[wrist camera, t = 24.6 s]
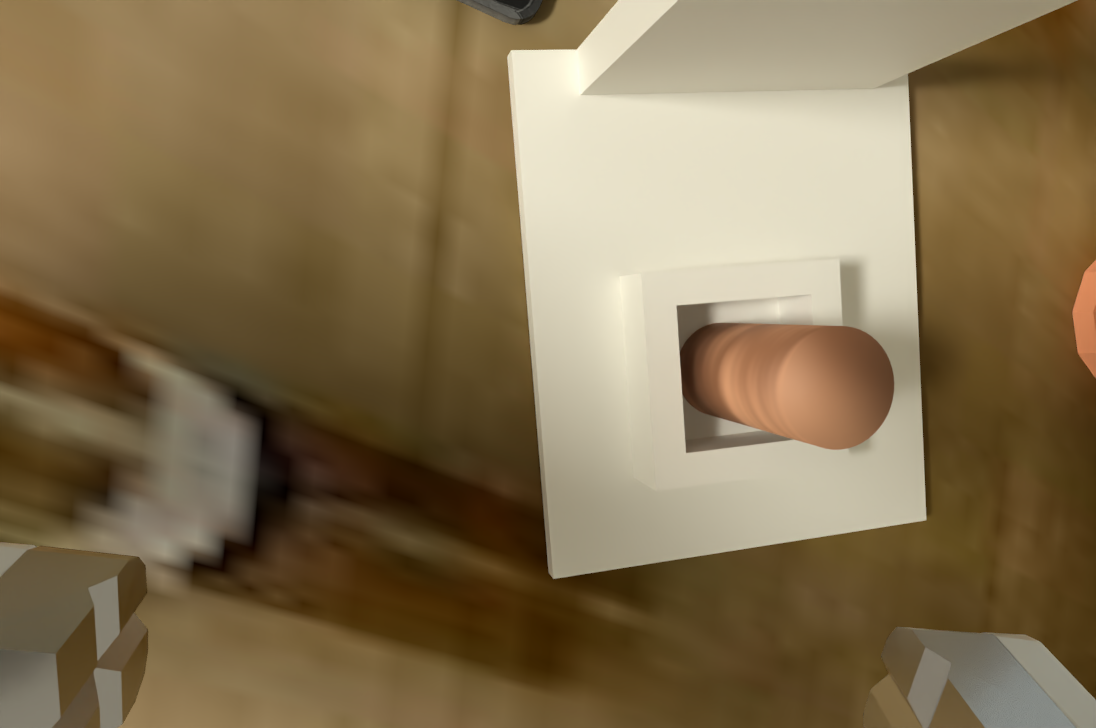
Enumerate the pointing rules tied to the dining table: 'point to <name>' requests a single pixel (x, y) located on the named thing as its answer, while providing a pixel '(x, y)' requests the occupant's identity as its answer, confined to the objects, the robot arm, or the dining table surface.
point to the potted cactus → (1086, 318)
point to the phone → (507, 9)
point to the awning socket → (720, 258)
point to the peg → (790, 380)
